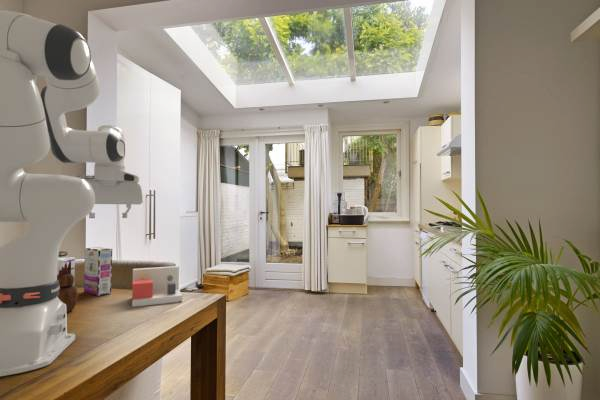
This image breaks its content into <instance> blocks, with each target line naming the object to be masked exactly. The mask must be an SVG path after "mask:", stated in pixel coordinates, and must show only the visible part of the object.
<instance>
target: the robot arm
mask: <svg viewBox="0 0 600 400" xmlns="http://www.w3.org/2000/svg"><path fill="white" fill-rule="evenodd" d="M91 52H92V51H91V48H90V44H89V43H88V41H87V40H86V38H84V36H83V35H82V34H81V33H80V32H79V31H77V30H75V29H73V28H72V27H70V26H67V25H64V24H61V23H60V24H56V23H54V22H51V21H48V20H45V19H41V18H39V17H34V16H32V15H30V14H27V13H22V12H19V11H18V12H16V11H12V10H4V9H3V10H2V9H0V223H22V222H23V223H29V225H28V226H29V227H28V229H27V231H26V233H24V234H23V235H21V236H19V237H16V238H14V239H11V240H10V241H8V242H6V243H4V244H2V246H0V377H4V376H5V377H6V376H11V375H16V374H21V373H26V372H30V371H33V370H37V369H40V368H44V367H46V366H48V365H51V364H52V362H54V360H55V361H56V359H57V358H58V356H60V355H61V354H62V353H63V352H64V351H65V350H66V349H67V348H68V347H69V346H70V345H71V344H72V343H73V342H74V341H75V340H76V335H75V333H68V323H67V322H68V321H67V320H68V319H67V317H68V316H67V315H68V314H67V313H68V312H67V311H66V304H64V303H63V302H62V301H60V299H59V298H58V295H59V289H60V285H59V280H58V279H57V266H58V256H59V251H60V249H61V246H62V242H63V241H64V239H65V237H66V235H67V234H68V233H69V232H70V230H71V229H73V228H72V227H74V226H75V225H76V224H78V222H80V221H82V220H83V219H85V218H86V217H88V218H89V219H95V217H96V213H95V212H92V210H93V209H94V206H95V205H125V207H126V208H127V209H126V210H125V212H122V214H121V215H122V216H121V218H122V219H128V214H129V212H130V211H131V208H132V205H141V204H143V202H144V201H143V200H144V199H143V190H142V187H141V184H139V181H140V178H139V176H138V175H137V174H133V173H130V172H127V171H126V168H125V158H126V157H125V156H126V143H125V134H124V131H123V130H122V129H121V128H120V127H117V126H114V125H100V126H98V128H97V130H84V129H83V130H82V129H81V130H80V129H74V128H71V127H68V124H67V120H66V115H65V114H68V113H69V112H73V111H80V110H83V109H86V108H88V107H89V106H91V105H92V104H94V103H95V101H97V99H98V98H99V96H100V92H101V86H100V85H101V84H100V79H99V77H98V73H97V71H96V68H95V65H94V62H93V60H92V53H91ZM38 76H40V77H44V80H45V81H46V86H44V87H43V88H42V89H41V91H40V90H39V88H38V85H37V81H38V80H37V79H38ZM50 150H51V153H52V154H53V156H54V157H55V158H56V159H57V160H58V161H60V162H61V163H63V164H68V163H69V164H73V163H91V164H92V163H93V164H94V165H93V166H94V167H93V168H94V169H93V171H94V172H93V173H94V174H93V175H83V174H79V175H76V176H72V175H66V174H65V175H64V174H49V173H29V172H28V173H27V172H26V171H25V170H24V168H26V167H29V166H33V165H35V164H37V163H39V162H40V161H42V160H44V159H45V158H46V157H47V155H49V152H50Z"/></svg>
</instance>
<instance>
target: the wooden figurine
mask: <svg viewBox="0 0 600 400" xmlns="http://www.w3.org/2000/svg"><path fill="white" fill-rule="evenodd" d="M57 279H58V280H59V285H60V289H59V295H58V298H59V299H60V301H62V302H63V303H64V304H66V311H67V313H68V312H71V311H74V309H75V307H76V306H77V303H78V296H79V294H78V289H77V287H76V286H75V285H74V286H72V285H73V283H74V276H73V275H72V274H71V261H69V265H68V268H67V263H65V267H62V270H59V274H58V276H57Z"/></svg>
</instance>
